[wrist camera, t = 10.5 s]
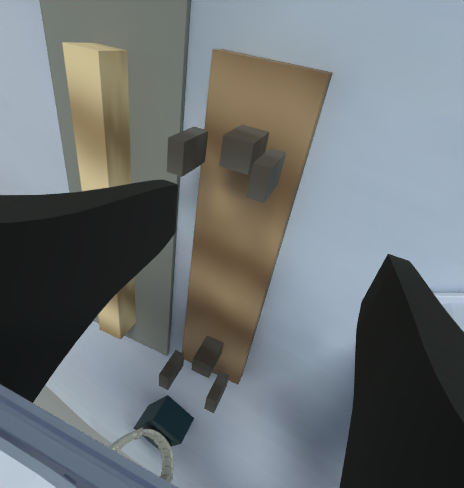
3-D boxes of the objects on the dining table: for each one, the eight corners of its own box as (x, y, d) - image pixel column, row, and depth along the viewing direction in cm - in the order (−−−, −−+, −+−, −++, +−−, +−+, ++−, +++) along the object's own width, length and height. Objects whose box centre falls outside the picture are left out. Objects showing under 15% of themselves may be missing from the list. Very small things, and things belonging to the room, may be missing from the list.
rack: (242, 374, 30) (215, 436, 26) (187, 348, 32) (152, 403, 27) (332, 72, 16) (309, 83, 11) (222, 49, 17) (157, 49, 12)
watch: (183, 436, 42) (131, 536, 33) (138, 396, 41) (73, 489, 33) (205, 428, 39) (155, 538, 30) (157, 385, 38) (90, 485, 29)
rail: (136, 322, 32) (120, 339, 30) (116, 313, 33) (100, 329, 31) (127, 50, 19) (98, 50, 17) (93, 42, 19) (62, 42, 17)
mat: (169, 352, 34) (167, 355, 33) (92, 316, 36) (89, 318, 35) (190, -2, 16) (187, -3, 16) (40, -28, 19) (34, -30, 18)
